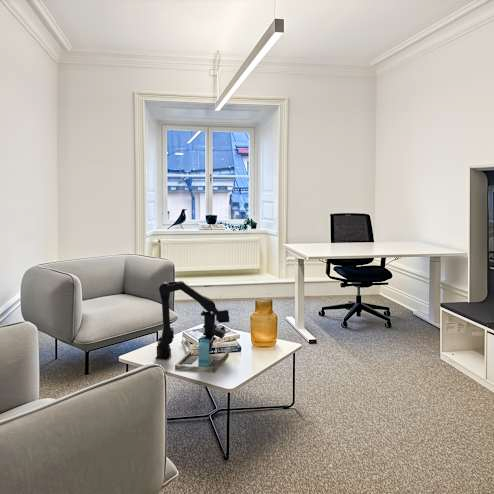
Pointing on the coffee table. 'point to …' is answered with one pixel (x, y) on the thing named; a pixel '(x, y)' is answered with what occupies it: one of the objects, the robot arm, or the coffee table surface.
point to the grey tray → (196, 368)
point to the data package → (203, 353)
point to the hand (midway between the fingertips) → (209, 351)
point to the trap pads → (192, 359)
